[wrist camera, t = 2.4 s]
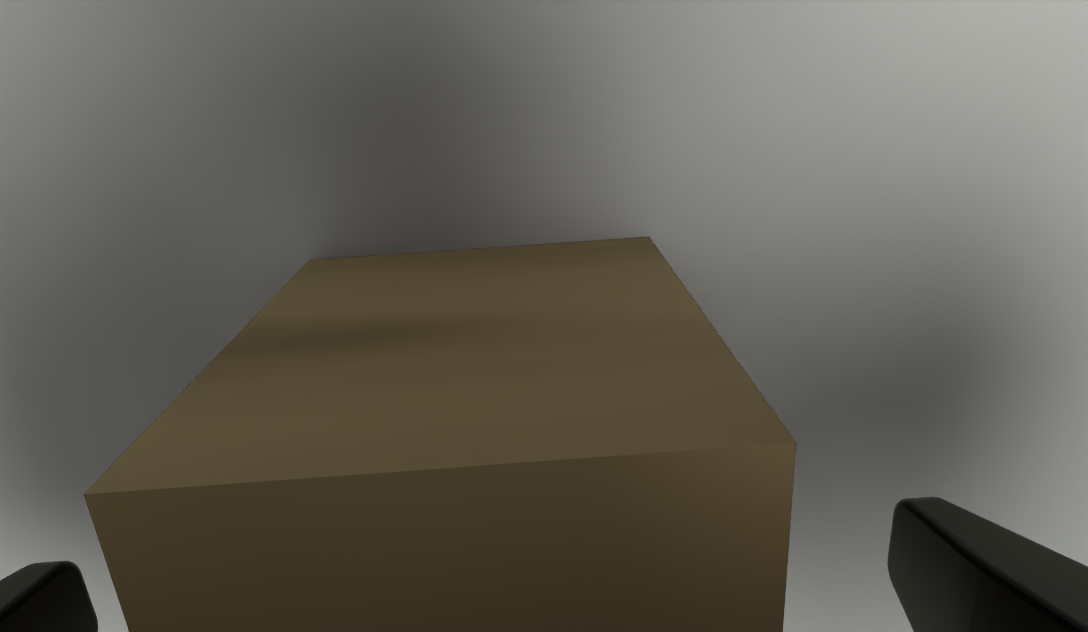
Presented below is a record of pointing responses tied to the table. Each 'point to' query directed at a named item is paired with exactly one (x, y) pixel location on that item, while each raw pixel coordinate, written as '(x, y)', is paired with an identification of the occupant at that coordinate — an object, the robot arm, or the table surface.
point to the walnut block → (460, 459)
